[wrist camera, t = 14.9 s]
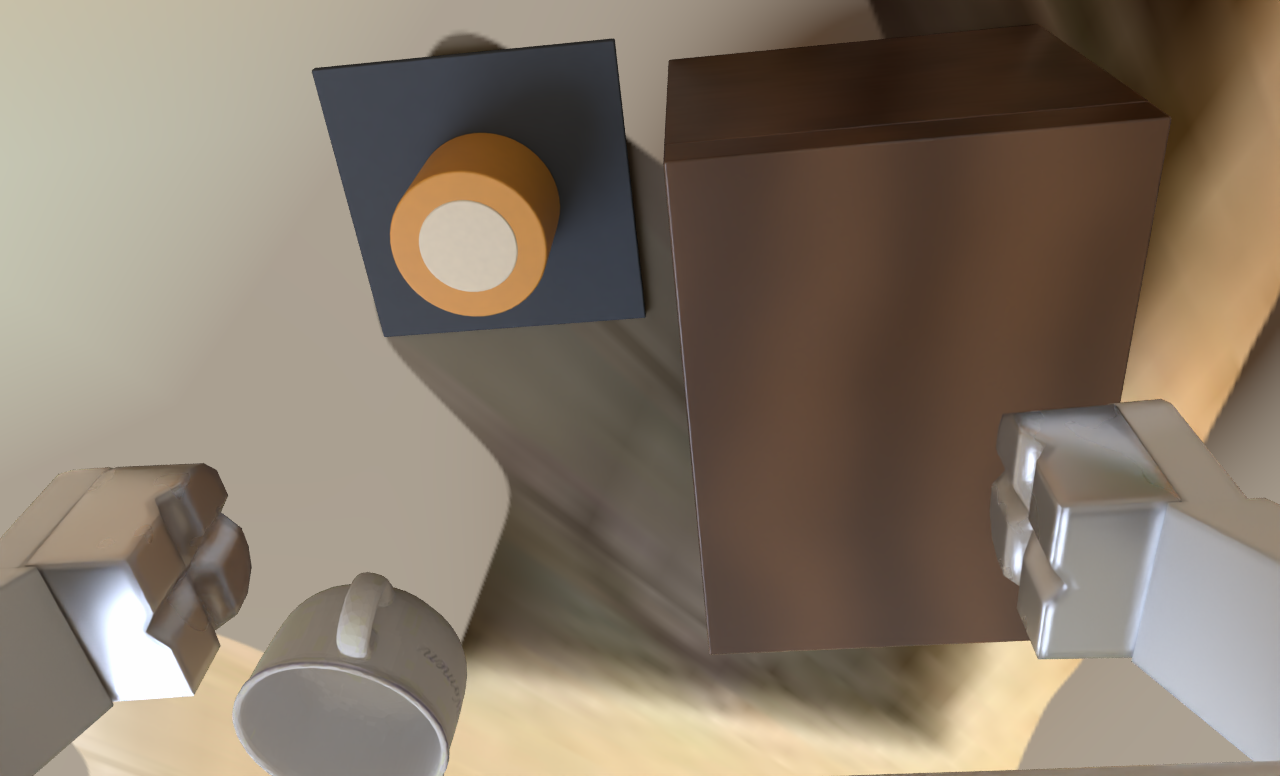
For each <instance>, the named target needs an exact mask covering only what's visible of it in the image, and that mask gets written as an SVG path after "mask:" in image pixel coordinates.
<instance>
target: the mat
mask: <svg viewBox="0 0 1280 776" xmlns="http://www.w3.org/2000/svg"><path fill="white" fill-rule="evenodd" d="M312 74H313V78H314V81H315V85H316V88H317V92H318V96H319V100H320V103H321V107H322V110H323V114H324V118H325V122H326V125H327V129H328V133H329V136H330V140H331V144H332V147H333V151H334V154H335V158H336V162H337V166H338V169H339V173H340V176H341V180H342V184H343V187H344V191H345V195H346V199H347V202H348V206H349V210H350V213H351V217H352V221H353V224H354V228H355V231H356V235H357V239H358V243H359V246H360V250H361V254H362V257H363V261H364V264H365V268H366V272H367V275H368V279H369V283H370V287H371V290H372V294H373V298H374V301H375V305H376V309H377V312H378V316H379V320H380V323H381V327H382V331H383V334H384V337H391V336H405V335H418V334H432V333H445V332H459V331H472V330H486V329H499V328H512V327H526V326H539V325H553V324H566V323H580V322H593V321H607V320H620V319H634V318H645V314H646V313H645V304H644V295H643V286H642V278H641V269H640V260H639V251H638V242H637V233H636V224H635V215H634V207H633V198H632V189H631V180H630V171H629V162H628V153H627V144H626V135H625V127H624V118H623V109H622V100H621V91H620V83H619V74H618V65H617V56H616V47H615V39H604V40H595V41H594V40H593V41H583V42H574V43H563V44H553V45H543V46H533V47H523V48H513V49H503V50H493V51H482V52H472V53H462V54H452V55H442V56H432V57H422V58H412V59H402V60H392V61H382V62H371V63H361V64H353V65H352V64H351V65H342V66H332V67H321V68H314V69H313V70H312ZM472 133H491V134H497V135H501V136H505V137H508V138H510V139H513V140H515V141H517V142H519V143H521V144H523V145H524V146H526V147H527V148H529V149H530V150H531V151H532V152H533V153H535V154H536V155H537V156H538V157H539V158H540V159H541V160H542V162H543V163H544V164H545V165H546V167H547V168H548V170H549V171H550V173H551V175H552V177H553V179H554V181H555V184H556V187H557V190H558V194H559V201H560V215H559V220H558V225H557V228H556V232H555V236H554V239H553V243H552V246H551V250H550V253H549V257H548V260H547V264H546V267H545V270H544V273H543V276H542V278H541V280H540V282H539V284H538V286H537V287H536V288H535V290H534V291H533V292H532V293H531V294H530V295H529V296H528V297H527V298H526V299H525V300H524V301H523V302H521V303H520V304H519V305H517V306H515V307H513V308H512V309H509V310H507V311H504V312H502V313H498V314H494V315H489V316H464V315H459V314H455V313H451V312H448V311H445V310H443V309H441V308H439V307H437V306H435V305H433V304H431V303H430V302H428V301H426V300H425V299H424V298H422V297H421V296H420V295H419V294H418V293H417V292H415V291H414V290H413V289H412V288H411V286H410V285H409V284H408V283H407V282H406V280H405V279H404V277H403V276H402V274H401V273H400V271H399V269H398V267H397V265H396V263H395V260H394V257H393V254H392V249H391V244H390V227H391V221H392V217H393V214H394V212H395V209H396V207H397V205H398V203H399V202H400V200H401V198H402V197H403V195H404V194H405V192H406V191H407V189H408V188H409V186H410V185H411V183H412V182H413V180H414V179H415V177H416V176H417V174H418V173H419V172H420V170H421V169H422V167H423V166H424V164H425V163H426V161H427V160H428V158H429V157H430V156H431V155H432V153H433V152H434V151H435V150H437V149H438V148H439V147H440V146H441V145H443V144H444V143H446V142H447V141H449V140H452V139H454V138H456V137H459V136H462V135H466V134H472Z"/></svg>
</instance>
